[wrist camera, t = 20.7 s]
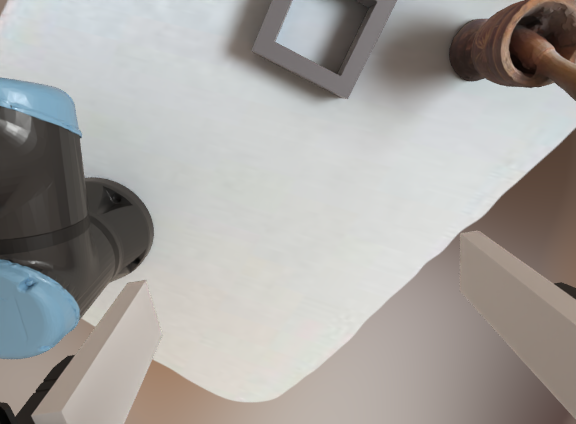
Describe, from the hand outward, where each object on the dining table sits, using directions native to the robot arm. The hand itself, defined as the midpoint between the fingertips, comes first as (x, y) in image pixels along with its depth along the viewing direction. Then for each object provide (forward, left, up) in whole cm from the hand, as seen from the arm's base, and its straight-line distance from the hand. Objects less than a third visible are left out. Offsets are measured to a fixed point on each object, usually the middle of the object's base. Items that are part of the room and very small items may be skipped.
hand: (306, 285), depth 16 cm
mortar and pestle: (+28, +7, -39) cm, 48 cm away
